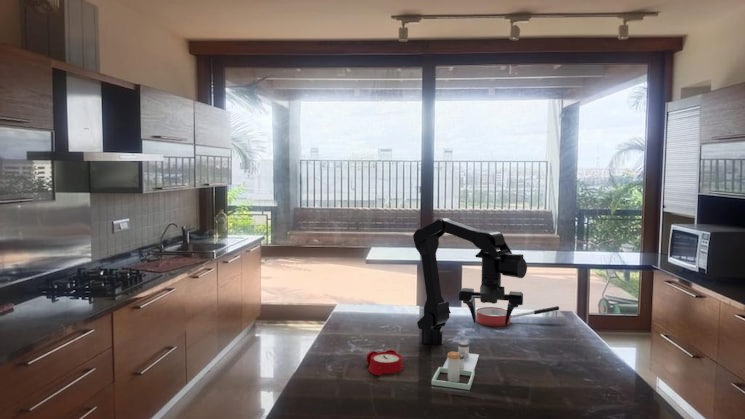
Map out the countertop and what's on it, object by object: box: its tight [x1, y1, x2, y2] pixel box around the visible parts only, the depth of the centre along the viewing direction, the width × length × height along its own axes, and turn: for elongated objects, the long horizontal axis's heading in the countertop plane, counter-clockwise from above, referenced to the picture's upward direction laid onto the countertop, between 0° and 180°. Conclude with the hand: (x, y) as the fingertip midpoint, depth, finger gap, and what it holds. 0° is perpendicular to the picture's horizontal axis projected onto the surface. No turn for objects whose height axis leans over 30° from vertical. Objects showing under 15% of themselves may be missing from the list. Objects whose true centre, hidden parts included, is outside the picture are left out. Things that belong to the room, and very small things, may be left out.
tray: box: [431, 366, 475, 394], centre depth 142 cm, size 10×10×2 cm
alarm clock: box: [366, 349, 405, 377], centre depth 153 cm, size 10×6×15 cm
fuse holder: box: [442, 341, 480, 371], centre depth 156 cm, size 9×17×5 cm, turn 162°
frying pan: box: [476, 305, 560, 328], centre depth 202 cm, size 32×13×6 cm, turn 97°
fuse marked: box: [447, 351, 460, 383], centre depth 142 cm, size 3×3×8 cm
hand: (490, 324), depth 157 cm, fingers open, 9 cm apart
